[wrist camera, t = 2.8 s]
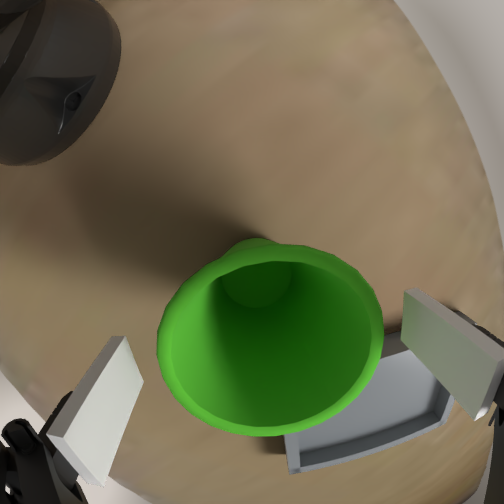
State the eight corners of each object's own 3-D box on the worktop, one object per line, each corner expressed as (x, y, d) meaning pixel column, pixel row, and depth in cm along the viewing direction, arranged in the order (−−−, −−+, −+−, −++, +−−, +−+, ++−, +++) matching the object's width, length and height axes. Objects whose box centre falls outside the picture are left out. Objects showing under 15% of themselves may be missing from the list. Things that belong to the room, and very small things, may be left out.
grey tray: (272, 360, 23) (277, 382, 20) (459, 310, 23) (476, 323, 20) (285, 454, 26) (289, 474, 24) (434, 408, 27) (445, 423, 24)
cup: (256, 182, 19) (281, 185, 9) (340, 271, 21) (418, 347, 11) (167, 272, 21) (112, 359, 10) (255, 348, 22) (269, 458, 12)
